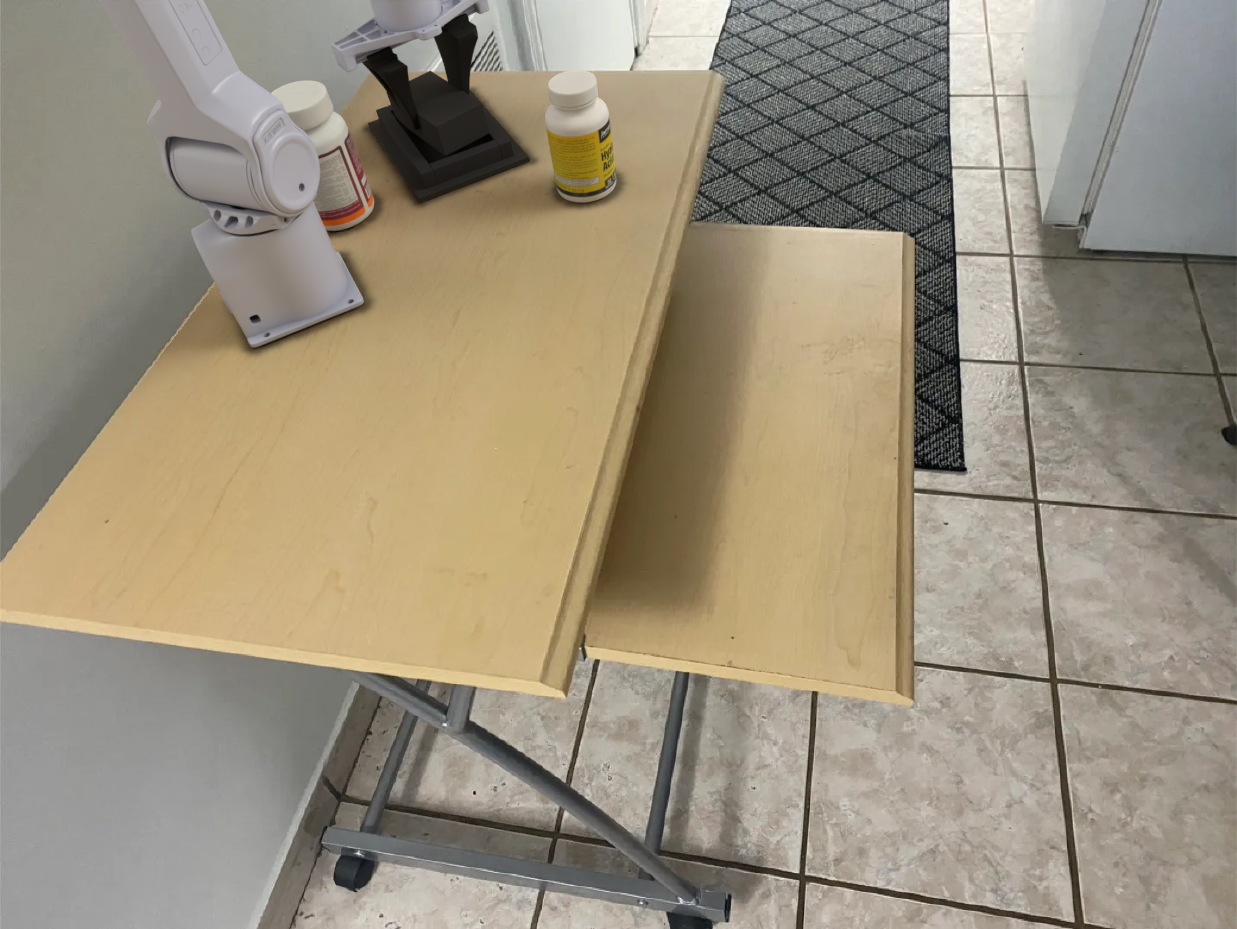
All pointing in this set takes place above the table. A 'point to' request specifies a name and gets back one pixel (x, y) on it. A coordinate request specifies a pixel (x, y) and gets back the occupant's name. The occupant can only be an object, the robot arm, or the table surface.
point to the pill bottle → (329, 155)
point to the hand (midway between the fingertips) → (437, 113)
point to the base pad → (445, 173)
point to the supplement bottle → (579, 137)
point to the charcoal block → (444, 114)
